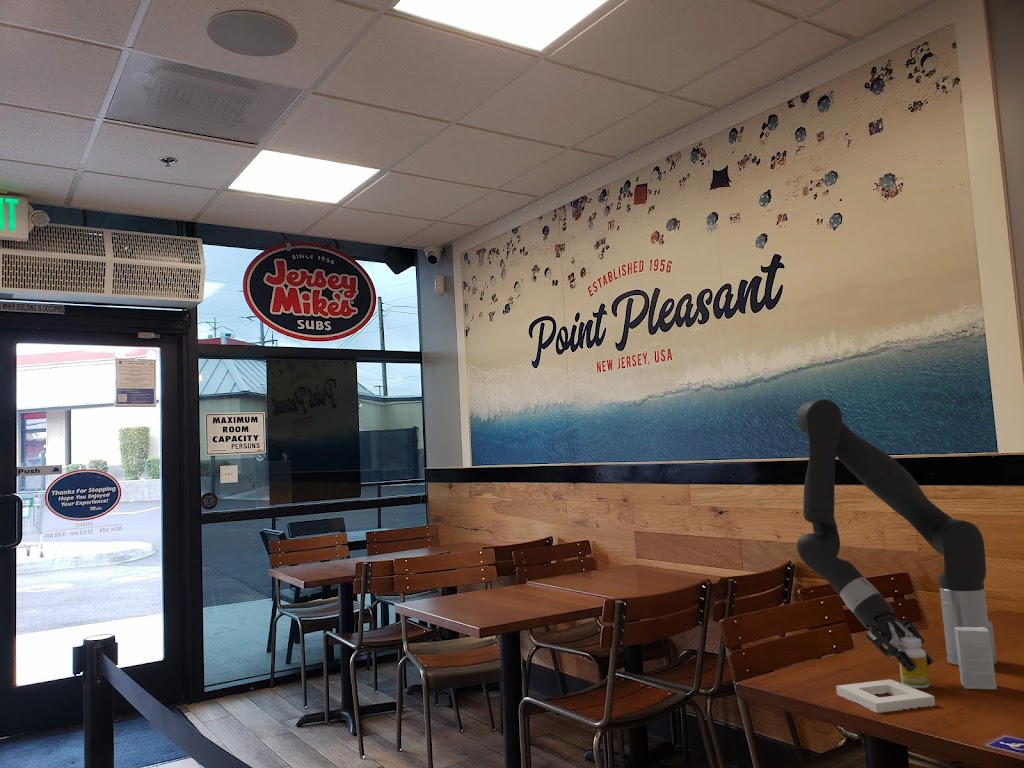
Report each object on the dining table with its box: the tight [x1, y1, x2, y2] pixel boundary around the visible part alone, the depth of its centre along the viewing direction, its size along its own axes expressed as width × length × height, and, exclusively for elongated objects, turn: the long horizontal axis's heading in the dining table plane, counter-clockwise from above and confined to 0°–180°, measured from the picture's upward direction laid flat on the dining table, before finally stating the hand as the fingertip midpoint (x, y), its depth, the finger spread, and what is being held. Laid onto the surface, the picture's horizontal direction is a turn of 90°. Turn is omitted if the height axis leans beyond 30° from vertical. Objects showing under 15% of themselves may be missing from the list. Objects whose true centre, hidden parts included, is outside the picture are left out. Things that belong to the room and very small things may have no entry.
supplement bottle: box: [898, 636, 930, 689], centre depth 168 cm, size 5×5×10 cm
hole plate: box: [835, 678, 936, 714], centre depth 159 cm, size 13×13×2 cm
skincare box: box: [954, 627, 998, 691], centre depth 165 cm, size 6×4×12 cm
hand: (921, 666), depth 166 cm, fingers closed on supplement bottle, 5 cm apart
